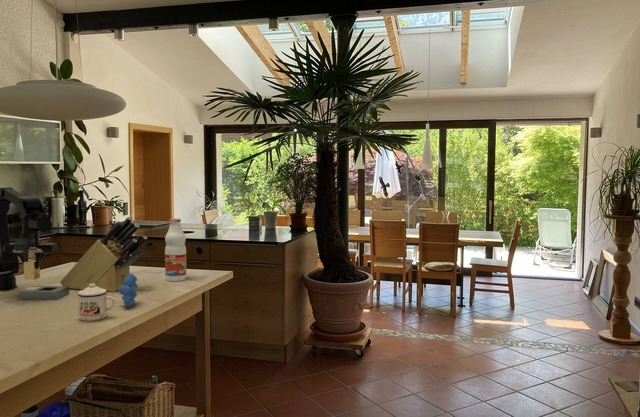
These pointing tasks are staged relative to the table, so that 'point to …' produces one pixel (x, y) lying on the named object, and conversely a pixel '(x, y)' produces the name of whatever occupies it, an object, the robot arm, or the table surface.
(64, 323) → the table surface
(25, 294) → the rail plate
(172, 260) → the fruit juice
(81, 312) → the teacup with lid
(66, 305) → the table surface
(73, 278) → the knife block
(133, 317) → the table surface
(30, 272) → the wooden square beam
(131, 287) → the grapes
